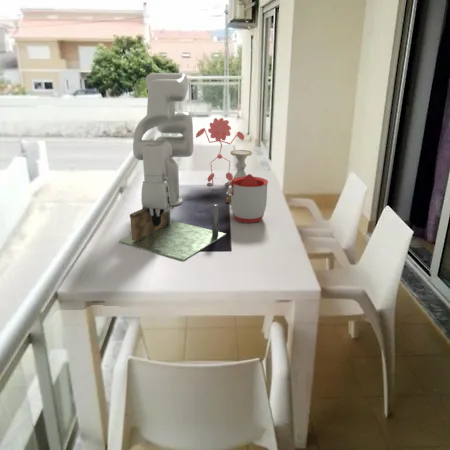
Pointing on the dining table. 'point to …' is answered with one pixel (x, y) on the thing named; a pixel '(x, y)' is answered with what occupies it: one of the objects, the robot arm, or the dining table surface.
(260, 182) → the citrus juicer
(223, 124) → the figurine
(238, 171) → the candle holder
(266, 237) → the dining table surface
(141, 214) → the gate
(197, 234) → the gate frame
